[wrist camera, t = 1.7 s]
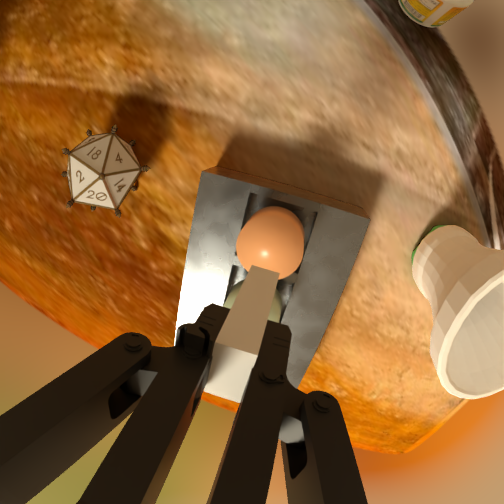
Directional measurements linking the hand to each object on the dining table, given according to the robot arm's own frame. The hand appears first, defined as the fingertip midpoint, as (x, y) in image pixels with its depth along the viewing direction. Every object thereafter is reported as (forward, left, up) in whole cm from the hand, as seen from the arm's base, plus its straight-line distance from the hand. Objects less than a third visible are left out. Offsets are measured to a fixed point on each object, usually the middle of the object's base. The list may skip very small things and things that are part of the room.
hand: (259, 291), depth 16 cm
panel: (0, -7, -14) cm, 15 cm away
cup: (+17, +1, -14) cm, 22 cm away
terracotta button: (0, 0, -9) cm, 9 cm away
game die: (-17, +1, -14) cm, 22 cm away
